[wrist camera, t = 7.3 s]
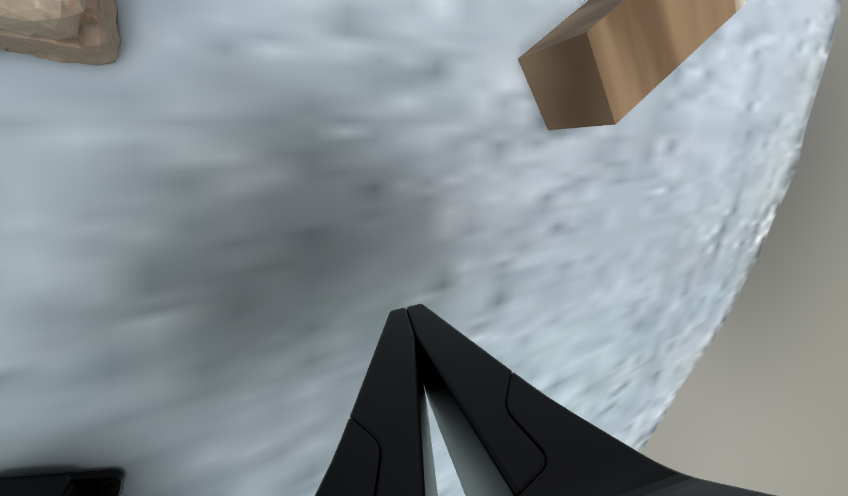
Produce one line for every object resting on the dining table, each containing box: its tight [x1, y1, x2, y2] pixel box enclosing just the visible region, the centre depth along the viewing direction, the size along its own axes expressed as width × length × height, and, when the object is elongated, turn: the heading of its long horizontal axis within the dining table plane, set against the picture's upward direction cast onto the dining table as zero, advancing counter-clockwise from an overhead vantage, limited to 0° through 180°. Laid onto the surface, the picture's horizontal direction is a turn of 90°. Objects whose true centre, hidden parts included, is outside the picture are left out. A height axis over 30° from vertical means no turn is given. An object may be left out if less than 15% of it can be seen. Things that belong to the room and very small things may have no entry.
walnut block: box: [518, 0, 746, 130], centre depth 20 cm, size 5×5×12 cm
